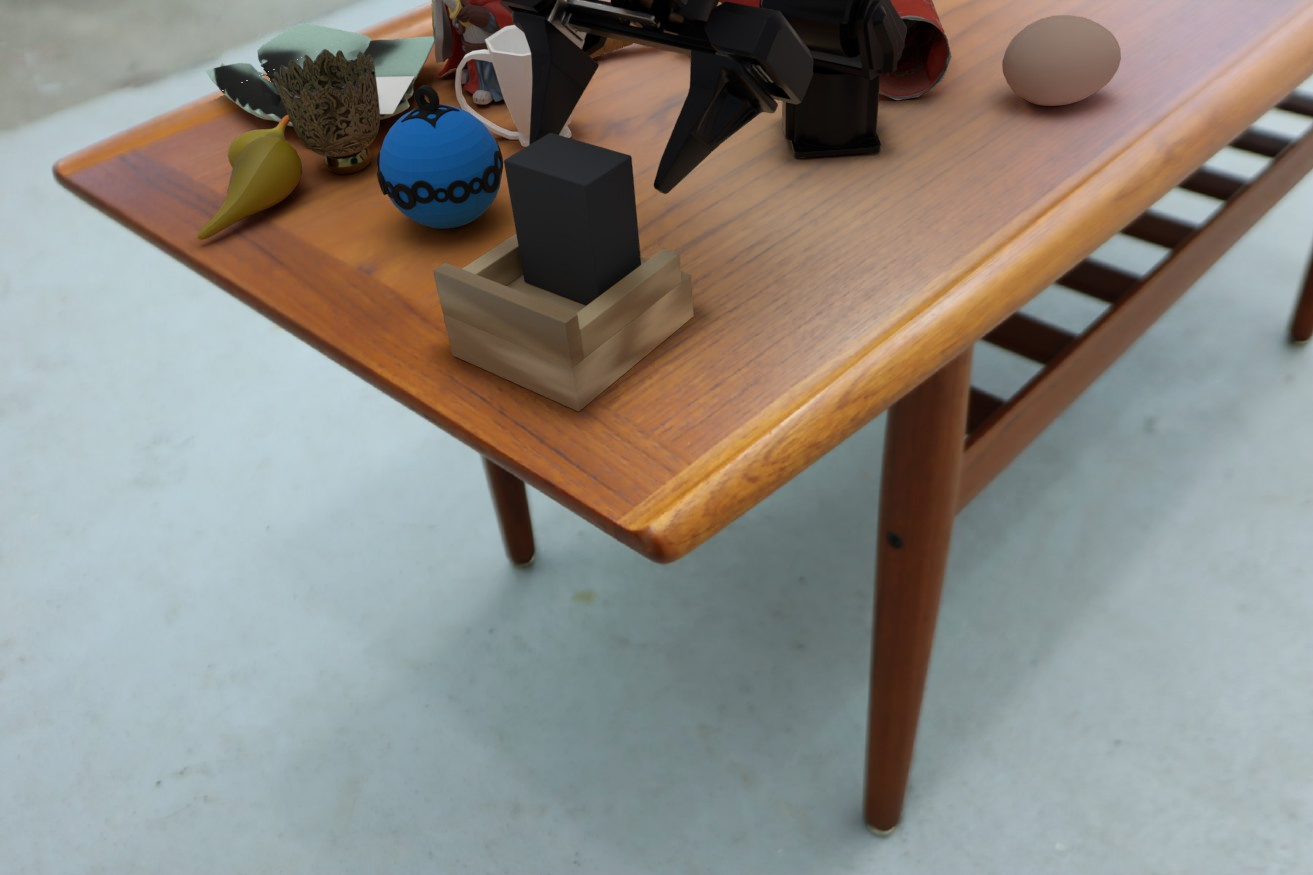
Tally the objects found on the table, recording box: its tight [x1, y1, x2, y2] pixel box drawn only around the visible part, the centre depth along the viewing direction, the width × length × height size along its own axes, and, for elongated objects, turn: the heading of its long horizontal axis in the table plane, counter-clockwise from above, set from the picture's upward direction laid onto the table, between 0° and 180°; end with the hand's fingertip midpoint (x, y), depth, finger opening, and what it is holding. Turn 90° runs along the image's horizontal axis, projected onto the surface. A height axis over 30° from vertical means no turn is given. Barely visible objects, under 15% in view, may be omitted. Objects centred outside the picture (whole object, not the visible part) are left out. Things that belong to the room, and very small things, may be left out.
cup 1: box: [272, 49, 381, 175], centre depth 83 cm, size 8×7×8 cm
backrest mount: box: [432, 233, 695, 413], centre depth 64 cm, size 11×10×6 cm
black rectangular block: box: [503, 133, 642, 306], centre depth 63 cm, size 4×6×8 cm, turn 53°
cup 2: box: [454, 25, 573, 148], centre depth 85 cm, size 7×10×8 cm
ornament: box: [376, 84, 504, 230], centre depth 75 cm, size 9×9×10 cm
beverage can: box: [879, 0, 952, 101], centre depth 91 cm, size 7×12×7 cm, turn 176°
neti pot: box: [197, 115, 303, 241], centre depth 82 cm, size 4×15×6 cm
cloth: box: [205, 21, 435, 127], centre depth 97 cm, size 20×22×2 cm
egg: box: [1001, 14, 1122, 107], centre depth 84 cm, size 7×7×9 cm
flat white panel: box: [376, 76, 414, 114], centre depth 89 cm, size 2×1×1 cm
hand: (595, 171), depth 62 cm, fingers open, 9 cm apart
